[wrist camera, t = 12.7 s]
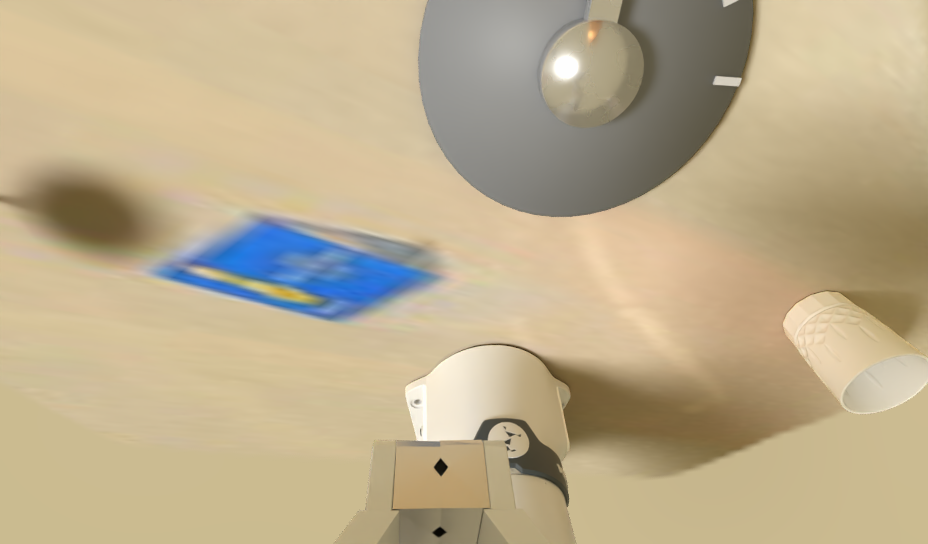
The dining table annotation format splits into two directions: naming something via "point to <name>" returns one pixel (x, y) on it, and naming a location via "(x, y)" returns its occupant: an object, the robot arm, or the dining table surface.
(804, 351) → the white cup
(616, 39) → the dial
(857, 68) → the dining table surface
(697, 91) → the dial plate
